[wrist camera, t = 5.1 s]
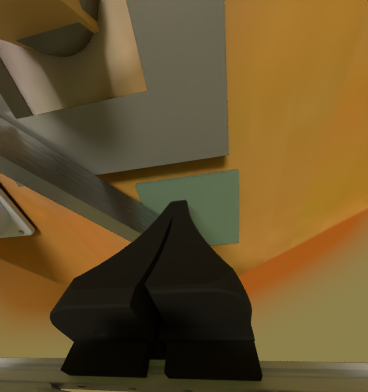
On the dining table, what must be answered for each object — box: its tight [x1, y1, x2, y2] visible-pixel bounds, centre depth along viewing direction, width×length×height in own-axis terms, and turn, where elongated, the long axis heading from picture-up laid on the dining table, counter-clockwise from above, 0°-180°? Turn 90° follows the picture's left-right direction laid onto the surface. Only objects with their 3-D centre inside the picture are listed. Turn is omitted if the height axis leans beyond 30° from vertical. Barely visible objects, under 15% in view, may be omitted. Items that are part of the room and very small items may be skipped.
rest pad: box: [135, 169, 239, 245], centre depth 13 cm, size 8×7×1 cm
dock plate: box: [0, 0, 229, 187], centre depth 8 cm, size 15×14×1 cm
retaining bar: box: [0, 117, 159, 242], centre depth 9 cm, size 15×1×3 cm, turn 53°
